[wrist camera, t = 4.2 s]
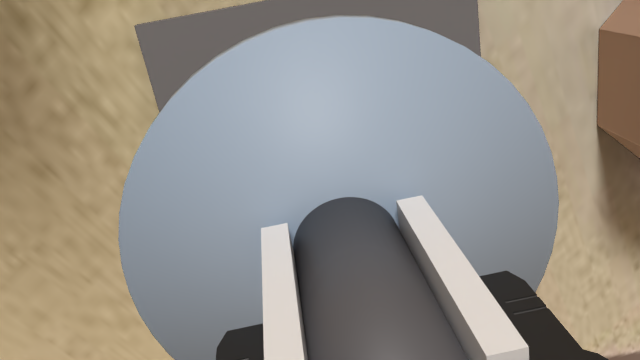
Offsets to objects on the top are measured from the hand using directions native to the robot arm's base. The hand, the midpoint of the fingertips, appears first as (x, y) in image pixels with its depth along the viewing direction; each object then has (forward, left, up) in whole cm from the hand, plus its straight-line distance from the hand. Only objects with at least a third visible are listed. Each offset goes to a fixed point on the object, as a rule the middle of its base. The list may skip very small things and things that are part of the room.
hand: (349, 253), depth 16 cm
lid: (0, 0, -1) cm, 1 cm away
